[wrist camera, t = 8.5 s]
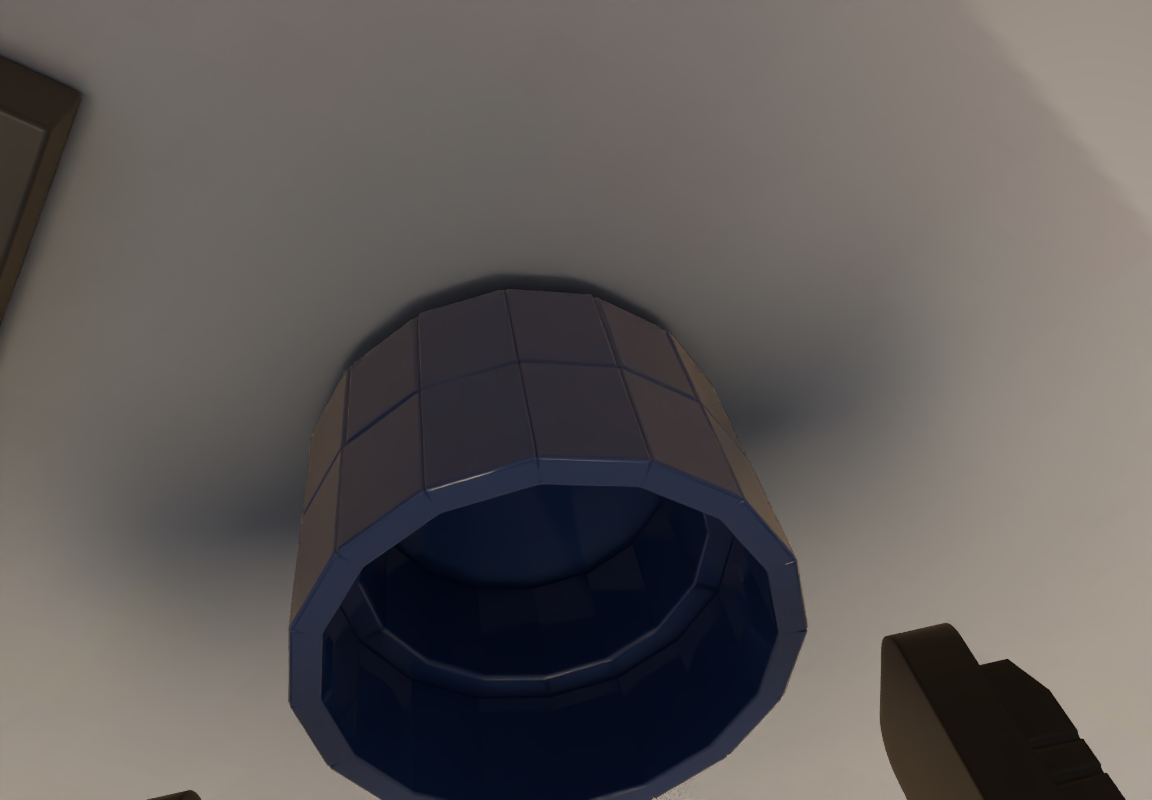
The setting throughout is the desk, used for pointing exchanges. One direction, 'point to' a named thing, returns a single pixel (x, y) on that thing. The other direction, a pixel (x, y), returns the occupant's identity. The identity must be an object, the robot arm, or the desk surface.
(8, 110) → the scale
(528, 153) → the desk surface
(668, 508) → the bowl
